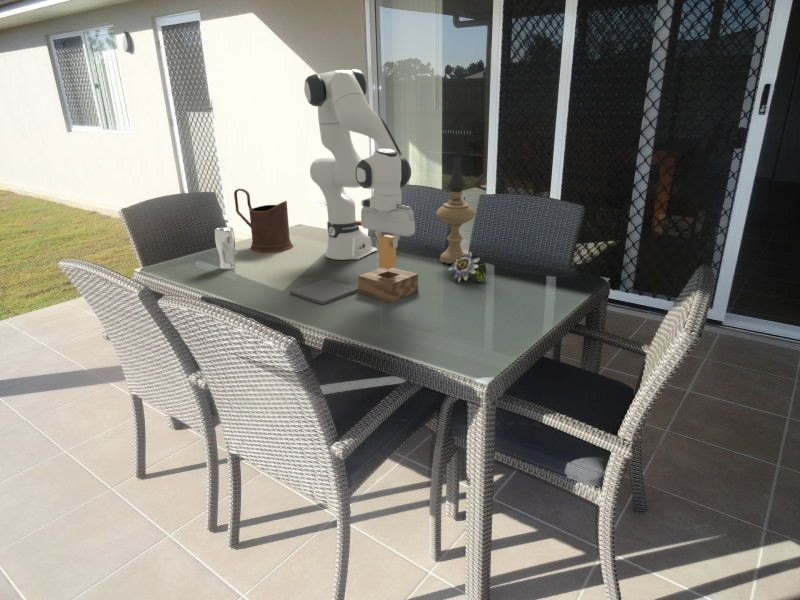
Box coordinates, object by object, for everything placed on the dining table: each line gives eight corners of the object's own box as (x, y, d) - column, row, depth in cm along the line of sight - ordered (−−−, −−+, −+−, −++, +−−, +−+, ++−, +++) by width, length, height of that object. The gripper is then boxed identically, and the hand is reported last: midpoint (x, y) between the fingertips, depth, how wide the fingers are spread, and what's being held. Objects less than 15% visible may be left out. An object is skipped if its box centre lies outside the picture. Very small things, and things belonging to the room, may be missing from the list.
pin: (386, 264, 178) (386, 234, 174) (396, 266, 175) (396, 236, 172) (378, 266, 175) (378, 236, 171) (388, 269, 172) (387, 239, 169)
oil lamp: (479, 264, 208) (485, 158, 194) (445, 268, 203) (448, 160, 189) (461, 254, 221) (465, 154, 207) (428, 258, 216) (430, 156, 202)
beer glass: (240, 265, 208) (236, 227, 203) (233, 270, 202) (229, 231, 196) (223, 264, 209) (218, 226, 204) (215, 269, 202) (210, 230, 197)
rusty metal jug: (283, 254, 223) (278, 193, 214) (230, 251, 228) (223, 192, 219) (299, 243, 240) (295, 187, 231) (250, 240, 245) (244, 185, 236)
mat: (326, 281, 188) (325, 279, 188) (358, 291, 179) (358, 288, 178) (290, 293, 177) (290, 290, 177) (323, 304, 167) (322, 301, 167)
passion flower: (459, 296, 190) (440, 268, 189) (474, 283, 198) (456, 255, 197) (481, 285, 182) (462, 255, 181) (496, 271, 189) (478, 243, 188)
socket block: (386, 282, 188) (386, 266, 185) (418, 291, 179) (418, 273, 177) (358, 292, 178) (358, 275, 175) (390, 302, 169) (390, 284, 167)
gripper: (419, 205, 164) (419, 248, 169) (370, 197, 176) (371, 238, 181) (406, 208, 159) (406, 253, 164) (357, 200, 172) (358, 242, 177)
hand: (387, 245), depth 173 cm, fingers closed on pin, 4 cm apart
